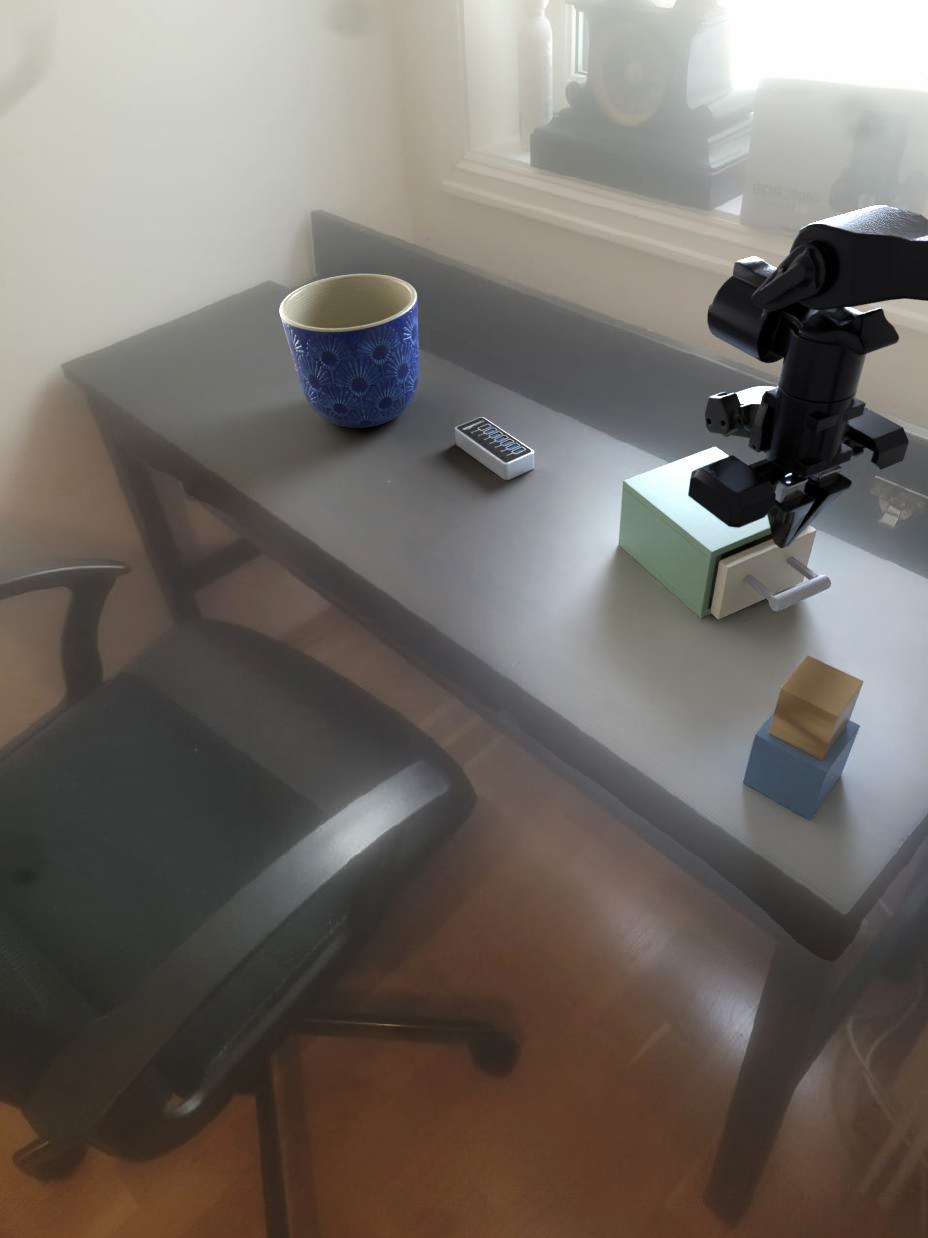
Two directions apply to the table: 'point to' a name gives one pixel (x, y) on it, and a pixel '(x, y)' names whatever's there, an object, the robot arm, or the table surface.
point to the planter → (355, 346)
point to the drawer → (765, 575)
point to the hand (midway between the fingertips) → (780, 544)
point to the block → (815, 707)
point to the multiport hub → (494, 448)
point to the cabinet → (679, 530)
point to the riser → (796, 769)
